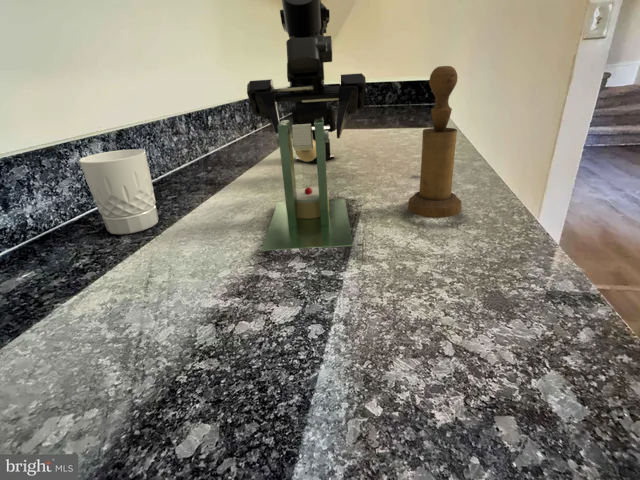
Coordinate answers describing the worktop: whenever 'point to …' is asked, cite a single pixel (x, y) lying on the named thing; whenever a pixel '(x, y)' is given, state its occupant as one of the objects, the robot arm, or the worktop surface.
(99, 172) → the white cup
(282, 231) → the slicer bracket
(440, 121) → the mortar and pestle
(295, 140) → the lever
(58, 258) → the worktop surface
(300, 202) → the cake
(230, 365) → the worktop surface
